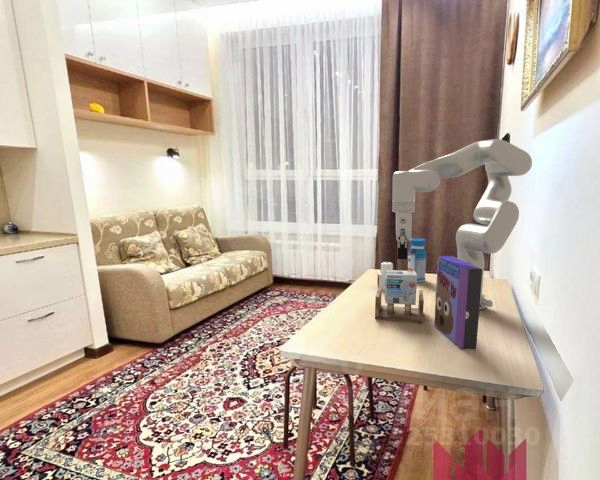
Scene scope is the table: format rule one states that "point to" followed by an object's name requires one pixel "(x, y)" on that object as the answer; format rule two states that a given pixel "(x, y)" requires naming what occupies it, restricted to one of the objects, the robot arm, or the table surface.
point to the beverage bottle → (417, 258)
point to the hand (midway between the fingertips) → (402, 256)
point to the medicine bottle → (384, 273)
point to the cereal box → (458, 301)
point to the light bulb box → (400, 287)
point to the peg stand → (399, 310)
